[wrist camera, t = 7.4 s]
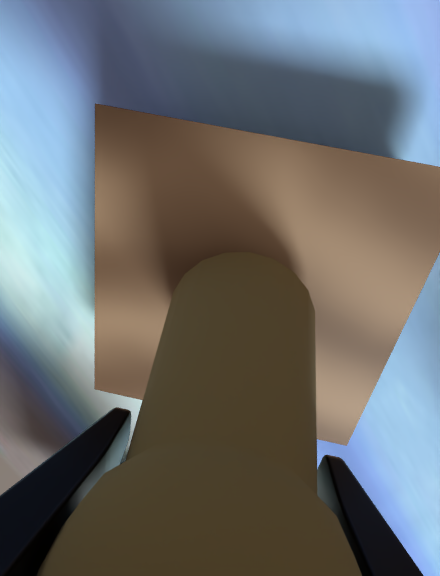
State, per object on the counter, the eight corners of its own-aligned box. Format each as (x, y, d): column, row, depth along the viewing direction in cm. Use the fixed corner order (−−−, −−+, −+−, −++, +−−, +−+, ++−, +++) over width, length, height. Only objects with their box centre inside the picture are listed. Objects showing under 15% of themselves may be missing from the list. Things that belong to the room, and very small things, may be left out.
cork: (142, 320, 14) (-144, 739, 4) (235, 218, 12) (89, 610, 2) (244, 401, 15) (207, 881, 5) (347, 321, 13) (613, 901, 3)
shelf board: (341, 427, 19) (346, 445, 18) (104, 375, 19) (94, 389, 18) (459, 170, 13) (477, 173, 12) (109, 106, 13) (94, 103, 12)
